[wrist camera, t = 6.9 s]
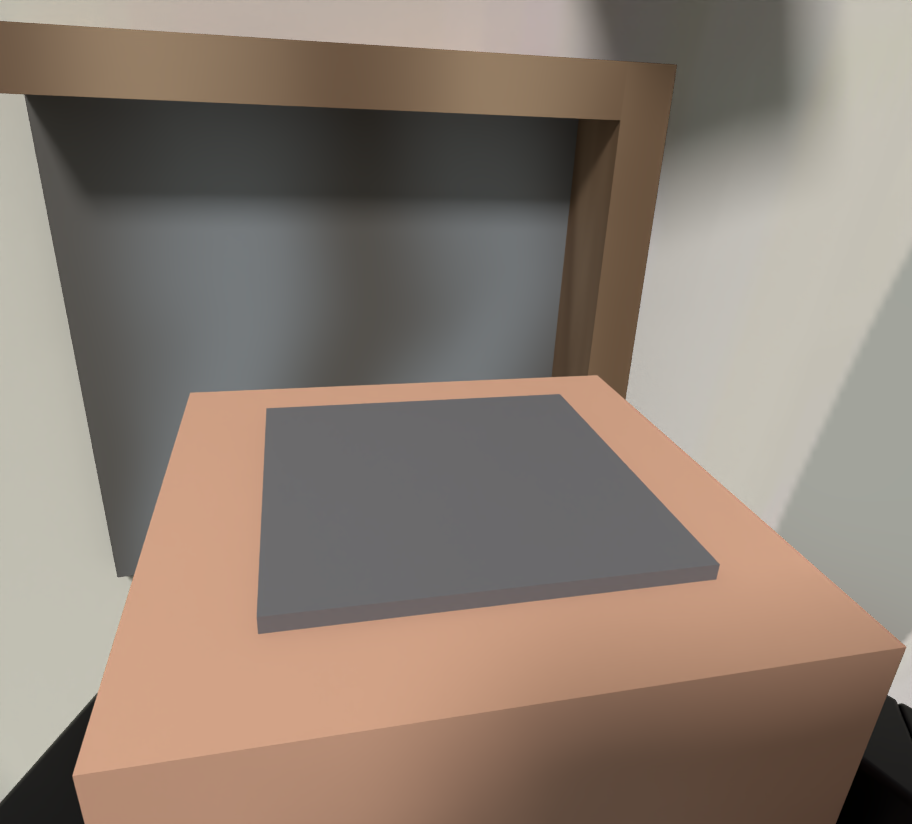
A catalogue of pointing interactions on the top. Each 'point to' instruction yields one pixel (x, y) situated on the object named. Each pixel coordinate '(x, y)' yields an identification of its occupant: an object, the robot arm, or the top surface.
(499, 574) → the terracotta cube
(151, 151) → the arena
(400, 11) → the top surface
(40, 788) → the robot arm
